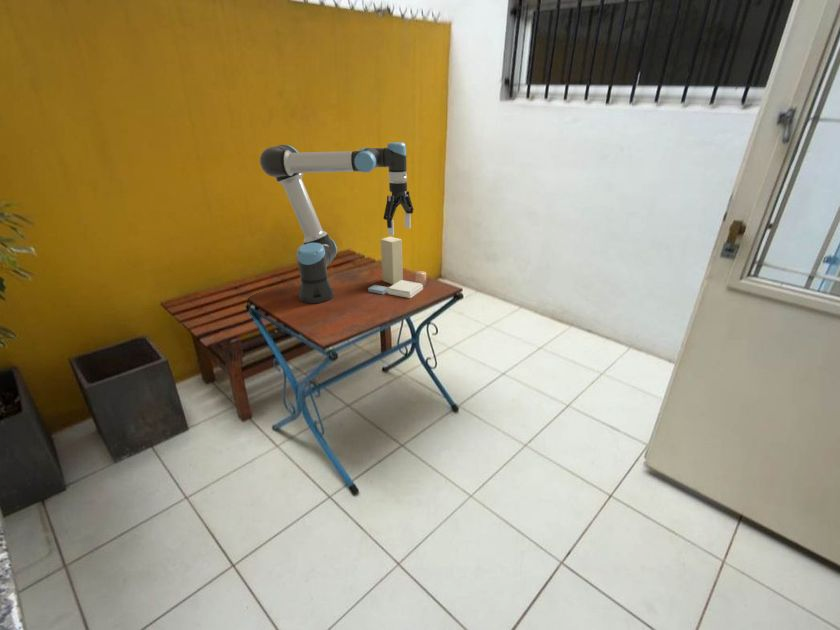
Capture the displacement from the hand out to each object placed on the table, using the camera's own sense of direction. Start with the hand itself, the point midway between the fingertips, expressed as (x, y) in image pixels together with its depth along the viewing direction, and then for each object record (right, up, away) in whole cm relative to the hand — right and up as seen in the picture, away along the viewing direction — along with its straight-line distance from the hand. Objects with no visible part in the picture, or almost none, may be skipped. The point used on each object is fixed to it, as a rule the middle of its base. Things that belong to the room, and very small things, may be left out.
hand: (399, 231), depth 191 cm
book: (-10, -26, +8) cm, 29 cm away
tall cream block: (-4, -21, +19) cm, 29 cm away
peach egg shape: (+10, -23, +14) cm, 28 cm away
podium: (+2, -26, +7) cm, 27 cm away
